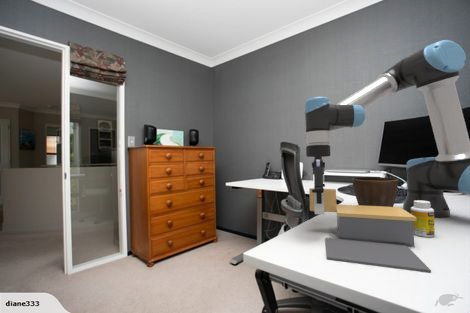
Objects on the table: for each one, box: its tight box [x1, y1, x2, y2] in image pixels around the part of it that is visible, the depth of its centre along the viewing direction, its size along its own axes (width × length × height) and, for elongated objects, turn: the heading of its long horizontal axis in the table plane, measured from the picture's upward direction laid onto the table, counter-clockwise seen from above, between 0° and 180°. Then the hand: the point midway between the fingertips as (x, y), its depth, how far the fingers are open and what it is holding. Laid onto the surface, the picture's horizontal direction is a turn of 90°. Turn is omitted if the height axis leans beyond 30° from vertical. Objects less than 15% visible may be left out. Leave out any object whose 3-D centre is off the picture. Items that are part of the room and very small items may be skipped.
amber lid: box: [308, 187, 417, 221], centre depth 70 cm, size 27×13×8 cm, turn 69°
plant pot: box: [351, 176, 399, 207], centre depth 85 cm, size 15×15×16 cm
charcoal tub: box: [336, 214, 415, 248], centre depth 69 cm, size 18×12×7 cm, turn 69°
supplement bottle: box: [411, 200, 436, 238], centre depth 69 cm, size 6×6×10 cm
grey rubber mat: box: [325, 237, 432, 274], centre depth 56 cm, size 20×14×1 cm
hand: (319, 209), depth 74 cm, fingers open, 13 cm apart
